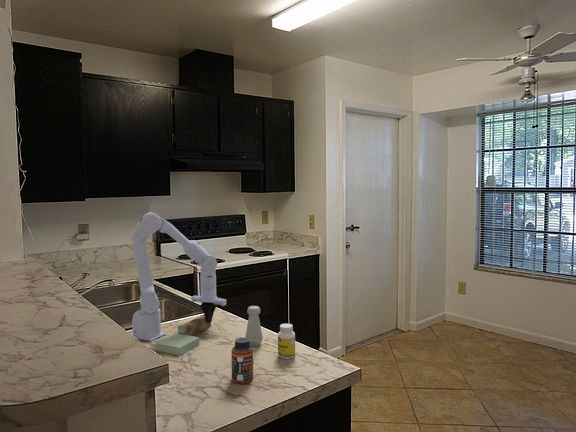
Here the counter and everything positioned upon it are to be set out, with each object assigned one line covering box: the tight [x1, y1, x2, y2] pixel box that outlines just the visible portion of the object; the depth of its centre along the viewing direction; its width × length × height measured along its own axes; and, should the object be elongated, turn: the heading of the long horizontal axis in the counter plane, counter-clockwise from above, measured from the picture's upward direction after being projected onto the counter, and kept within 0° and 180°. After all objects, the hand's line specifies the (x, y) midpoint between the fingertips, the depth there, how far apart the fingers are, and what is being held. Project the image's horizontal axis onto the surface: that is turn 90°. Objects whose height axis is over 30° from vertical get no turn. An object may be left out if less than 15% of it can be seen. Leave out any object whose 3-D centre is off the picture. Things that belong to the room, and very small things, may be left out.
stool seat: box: [155, 332, 200, 356], centre depth 144 cm, size 10×10×2 cm
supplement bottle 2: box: [277, 323, 296, 360], centre depth 136 cm, size 5×5×10 cm
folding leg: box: [177, 314, 212, 336], centre depth 158 cm, size 17×3×4 cm, turn 155°
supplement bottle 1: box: [231, 337, 254, 385], centre depth 119 cm, size 6×6×11 cm
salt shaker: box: [244, 305, 264, 348], centre depth 145 cm, size 6×6×13 cm
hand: (209, 322), depth 162 cm, fingers closed
